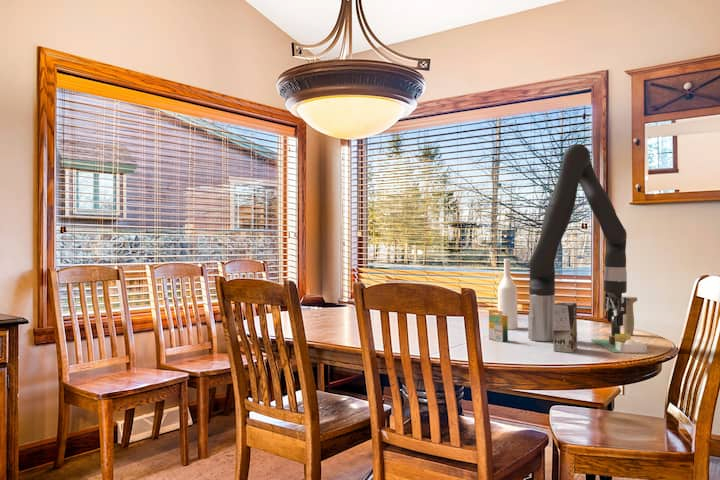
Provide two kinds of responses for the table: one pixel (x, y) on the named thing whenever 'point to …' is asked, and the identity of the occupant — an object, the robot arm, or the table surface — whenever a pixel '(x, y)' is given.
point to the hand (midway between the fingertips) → (614, 323)
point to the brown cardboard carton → (611, 340)
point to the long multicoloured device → (618, 332)
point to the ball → (630, 341)
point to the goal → (631, 347)
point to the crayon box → (498, 326)
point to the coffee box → (565, 327)
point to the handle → (629, 316)
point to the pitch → (608, 345)
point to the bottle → (508, 297)
